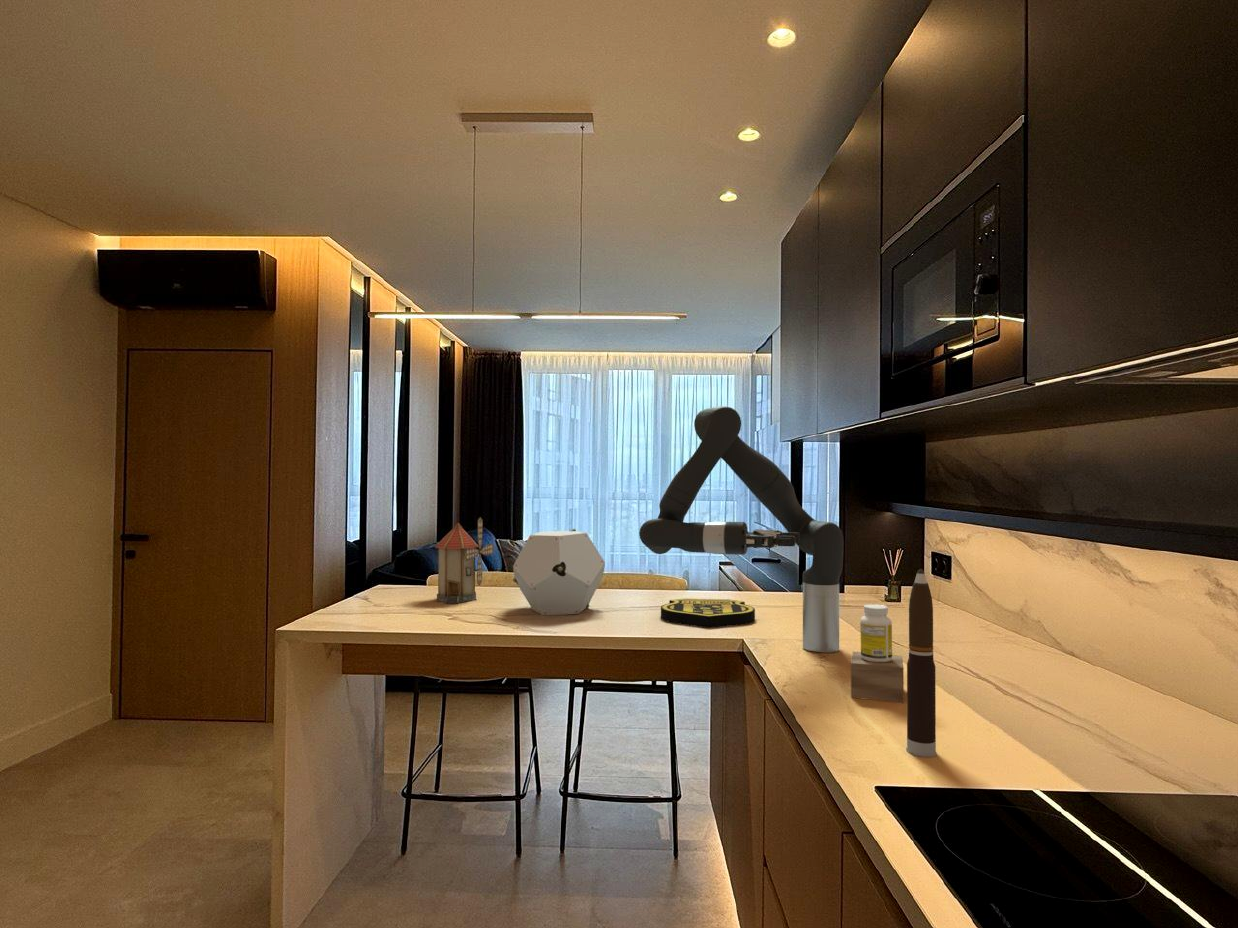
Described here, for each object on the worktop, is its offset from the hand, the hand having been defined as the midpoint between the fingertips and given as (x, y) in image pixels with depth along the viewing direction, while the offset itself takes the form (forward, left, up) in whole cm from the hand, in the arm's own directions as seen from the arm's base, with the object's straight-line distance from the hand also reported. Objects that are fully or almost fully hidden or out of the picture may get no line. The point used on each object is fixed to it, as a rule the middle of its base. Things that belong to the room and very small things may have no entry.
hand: (797, 539), depth 159 cm
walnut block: (+5, +17, -31) cm, 36 cm away
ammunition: (+36, +24, -31) cm, 53 cm away
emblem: (-59, -34, -32) cm, 75 cm away
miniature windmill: (-58, -124, -31) cm, 141 cm away
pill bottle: (+5, +17, -24) cm, 30 cm away
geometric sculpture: (-53, -83, -31) cm, 104 cm away
